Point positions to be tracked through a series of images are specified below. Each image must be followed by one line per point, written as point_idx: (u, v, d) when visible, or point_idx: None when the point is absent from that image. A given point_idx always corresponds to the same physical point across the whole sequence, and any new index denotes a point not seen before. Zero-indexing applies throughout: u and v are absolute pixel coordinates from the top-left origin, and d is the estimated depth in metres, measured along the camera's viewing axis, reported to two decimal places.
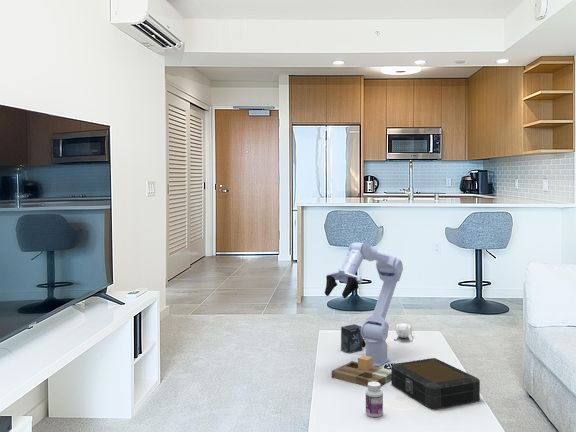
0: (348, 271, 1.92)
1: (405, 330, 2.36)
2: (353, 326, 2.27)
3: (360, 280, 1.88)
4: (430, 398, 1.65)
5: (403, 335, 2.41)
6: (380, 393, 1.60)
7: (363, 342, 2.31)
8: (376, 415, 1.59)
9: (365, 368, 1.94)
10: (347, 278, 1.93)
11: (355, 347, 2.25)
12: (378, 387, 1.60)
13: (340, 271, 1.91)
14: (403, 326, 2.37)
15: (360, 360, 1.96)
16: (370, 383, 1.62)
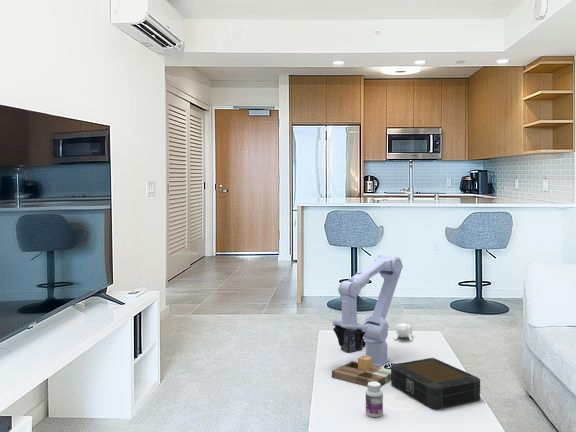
0: (350, 323, 1.98)
1: (405, 330, 2.37)
2: None
3: (365, 328, 1.96)
4: (432, 398, 1.65)
5: (403, 335, 2.41)
6: (380, 393, 1.60)
7: (363, 342, 2.32)
8: (376, 415, 1.59)
9: (365, 368, 1.94)
10: None
11: None
12: (378, 387, 1.60)
13: (343, 326, 1.98)
14: (403, 326, 2.37)
15: (360, 360, 1.96)
16: (370, 383, 1.62)
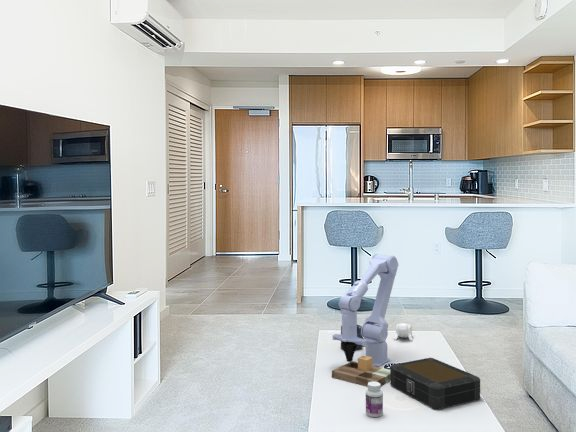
0: (350, 337, 1.98)
1: (405, 330, 2.37)
2: None
3: (365, 343, 1.96)
4: (434, 398, 1.65)
5: (403, 335, 2.42)
6: (380, 393, 1.60)
7: None
8: (376, 415, 1.59)
9: (365, 368, 1.94)
10: None
11: None
12: (378, 387, 1.60)
13: (343, 341, 1.98)
14: (403, 326, 2.37)
15: (360, 360, 1.96)
16: (370, 383, 1.62)
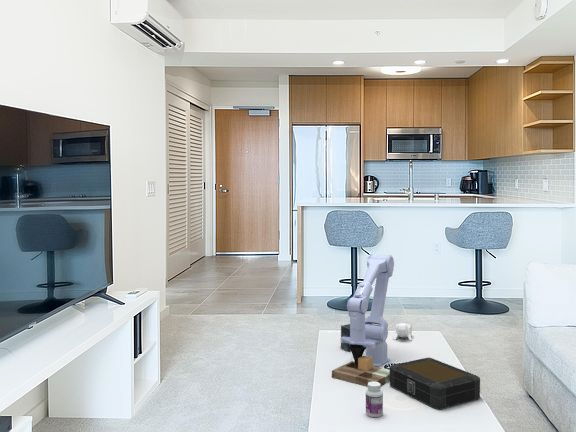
0: (359, 339, 1.96)
1: (404, 330, 2.37)
2: None
3: (374, 346, 1.94)
4: (435, 398, 1.65)
5: (402, 335, 2.42)
6: (380, 393, 1.60)
7: None
8: (376, 415, 1.59)
9: (365, 368, 1.94)
10: None
11: None
12: (378, 387, 1.60)
13: (352, 343, 1.96)
14: (402, 326, 2.37)
15: (360, 360, 1.96)
16: (370, 383, 1.62)
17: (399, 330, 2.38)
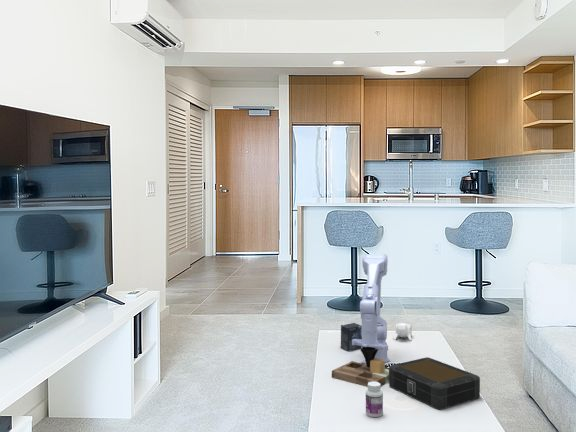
0: (371, 342, 1.92)
1: (404, 330, 2.37)
2: (353, 325, 2.29)
3: (386, 348, 1.90)
4: (437, 398, 1.65)
5: (402, 335, 2.42)
6: (380, 393, 1.60)
7: None
8: (376, 415, 1.59)
9: (377, 371, 1.91)
10: None
11: (354, 346, 2.27)
12: (378, 387, 1.60)
13: None
14: (402, 326, 2.38)
15: (372, 363, 1.92)
16: (370, 383, 1.62)
17: (399, 330, 2.38)
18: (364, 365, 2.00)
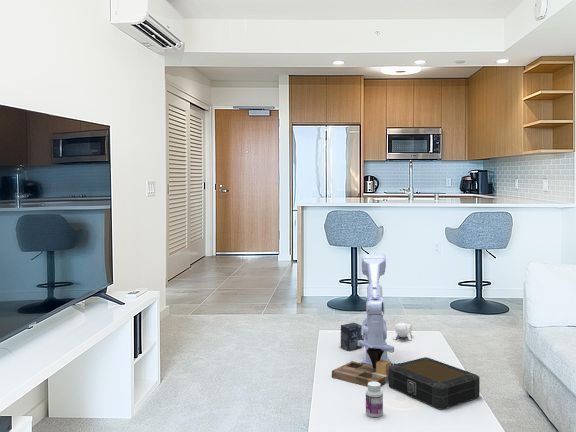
0: (377, 343, 1.91)
1: (404, 329, 2.37)
2: (353, 324, 2.30)
3: (392, 349, 1.89)
4: (438, 398, 1.65)
5: (402, 334, 2.42)
6: (380, 393, 1.60)
7: None
8: (376, 415, 1.59)
9: (384, 372, 1.89)
10: None
11: (354, 345, 2.28)
12: (378, 387, 1.60)
13: None
14: (402, 325, 2.38)
15: (378, 364, 1.91)
16: (370, 383, 1.62)
17: (399, 330, 2.38)
18: (364, 365, 2.00)
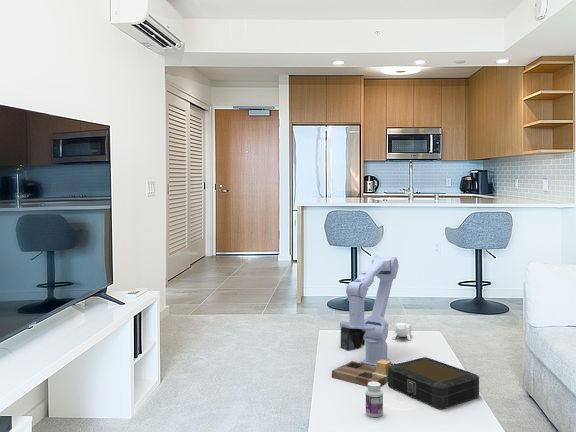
0: (358, 324, 1.96)
1: (403, 329, 2.38)
2: None
3: (373, 330, 1.94)
4: (438, 398, 1.65)
5: (401, 334, 2.42)
6: (380, 393, 1.60)
7: (362, 340, 2.35)
8: (376, 415, 1.59)
9: (384, 372, 1.89)
10: None
11: None
12: (378, 387, 1.60)
13: (351, 328, 1.96)
14: (401, 325, 2.38)
15: (378, 364, 1.91)
16: (370, 383, 1.62)
17: (398, 330, 2.38)
18: (364, 365, 2.00)
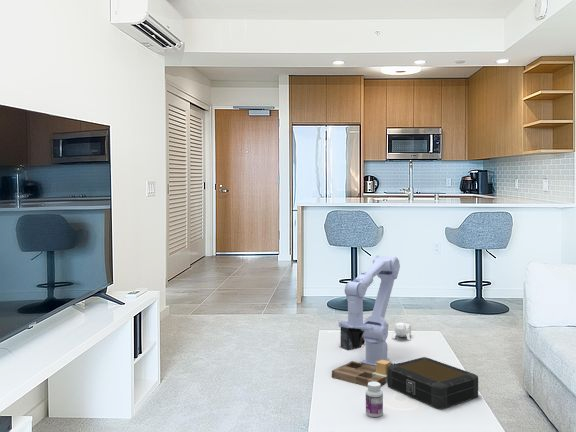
0: (356, 323, 1.97)
1: (402, 329, 2.38)
2: None
3: (371, 329, 1.95)
4: (437, 398, 1.65)
5: (401, 334, 2.43)
6: (380, 393, 1.60)
7: (362, 339, 2.36)
8: (376, 415, 1.59)
9: (384, 372, 1.89)
10: None
11: None
12: (378, 387, 1.60)
13: (350, 327, 1.97)
14: (400, 325, 2.38)
15: (378, 364, 1.91)
16: (370, 383, 1.62)
17: (397, 329, 2.39)
18: (364, 365, 2.00)
